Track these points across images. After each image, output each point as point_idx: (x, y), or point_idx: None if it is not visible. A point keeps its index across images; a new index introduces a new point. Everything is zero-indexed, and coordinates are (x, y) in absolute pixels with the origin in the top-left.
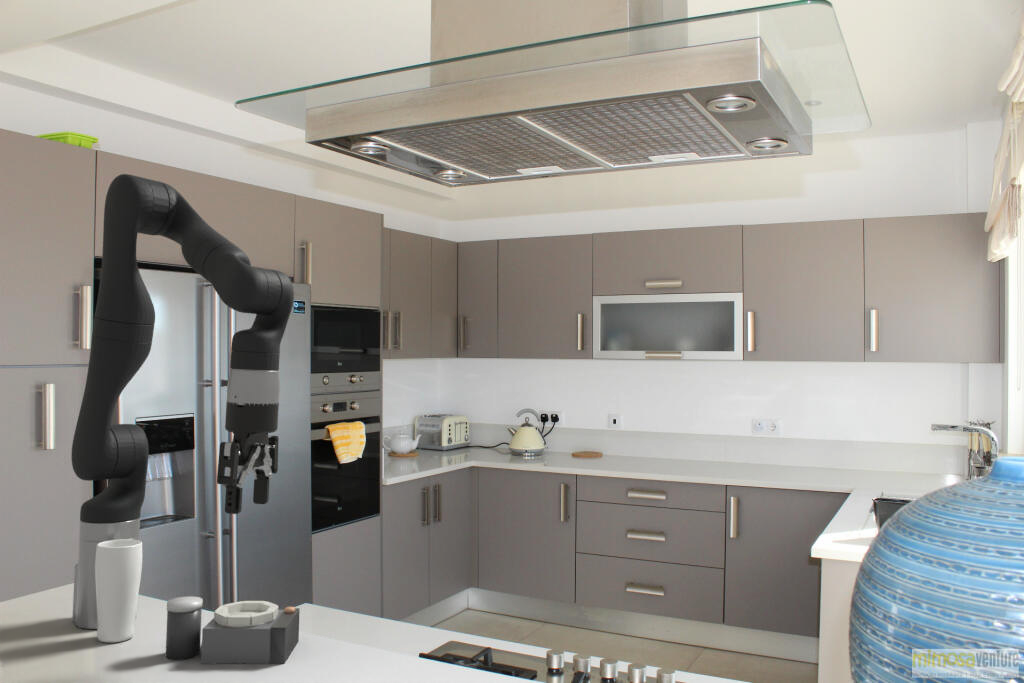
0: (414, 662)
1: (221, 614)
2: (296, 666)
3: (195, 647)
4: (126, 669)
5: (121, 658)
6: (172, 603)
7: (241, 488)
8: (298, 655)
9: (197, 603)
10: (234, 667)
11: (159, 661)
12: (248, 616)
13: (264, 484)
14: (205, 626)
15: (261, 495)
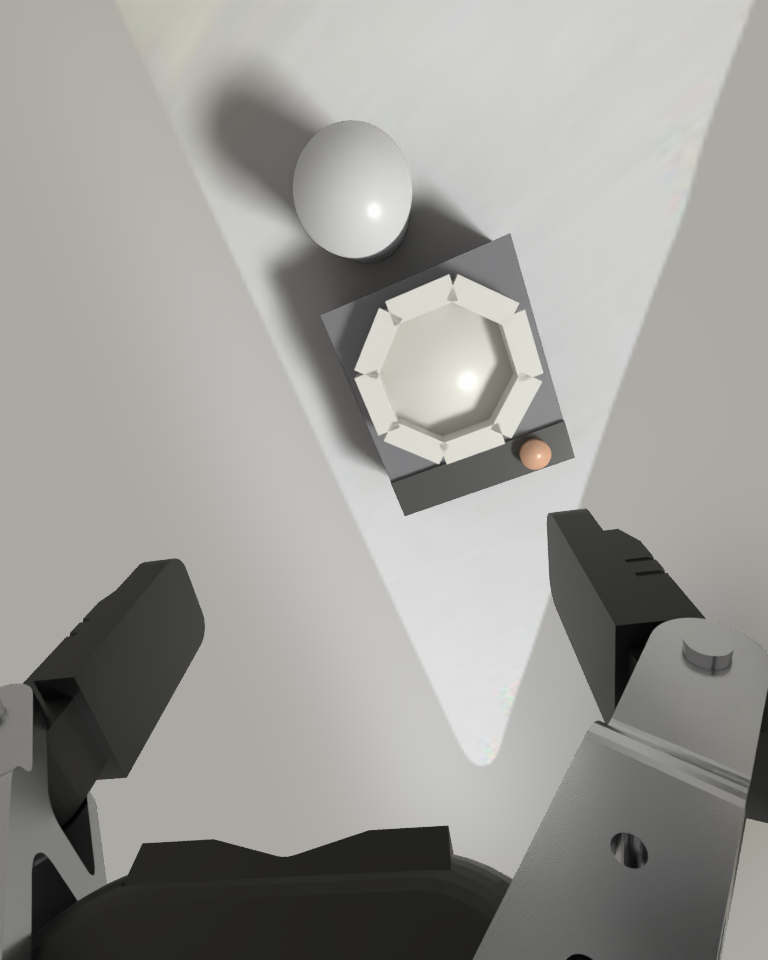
0: (497, 685)
1: (369, 343)
2: (400, 512)
3: (361, 261)
4: (223, 154)
5: (276, 61)
6: (308, 172)
7: (109, 777)
8: None
9: (349, 256)
10: (345, 398)
11: None
12: (383, 427)
13: (596, 688)
14: (339, 309)
15: (569, 598)
